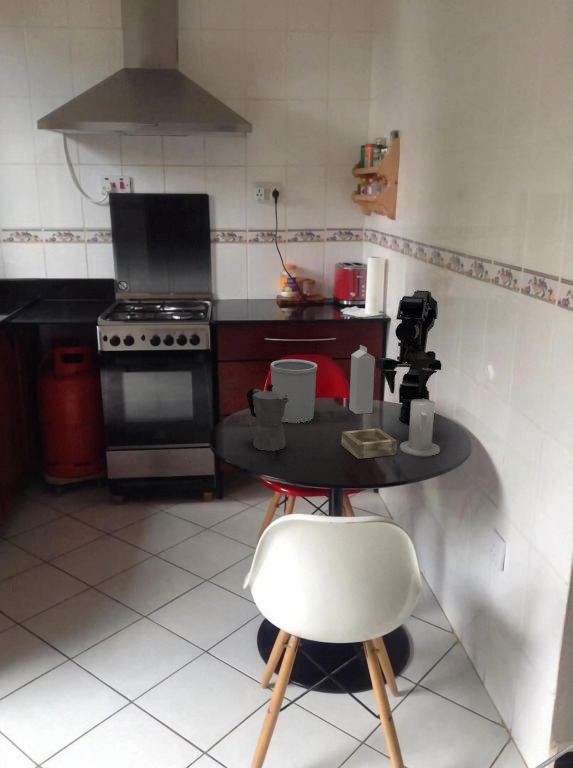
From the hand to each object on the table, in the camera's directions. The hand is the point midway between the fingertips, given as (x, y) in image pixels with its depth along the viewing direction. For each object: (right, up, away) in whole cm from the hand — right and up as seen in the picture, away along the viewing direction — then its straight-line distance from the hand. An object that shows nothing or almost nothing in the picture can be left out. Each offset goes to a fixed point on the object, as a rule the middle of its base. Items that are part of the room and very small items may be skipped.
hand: (406, 393), depth 196 cm
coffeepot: (-41, -15, -6) cm, 44 cm away
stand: (-12, -16, -9) cm, 22 cm away
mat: (+2, -16, -8) cm, 18 cm away
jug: (+2, -15, -9) cm, 18 cm away
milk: (-10, -7, +28) cm, 31 cm away
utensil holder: (-33, -8, +20) cm, 40 cm away
